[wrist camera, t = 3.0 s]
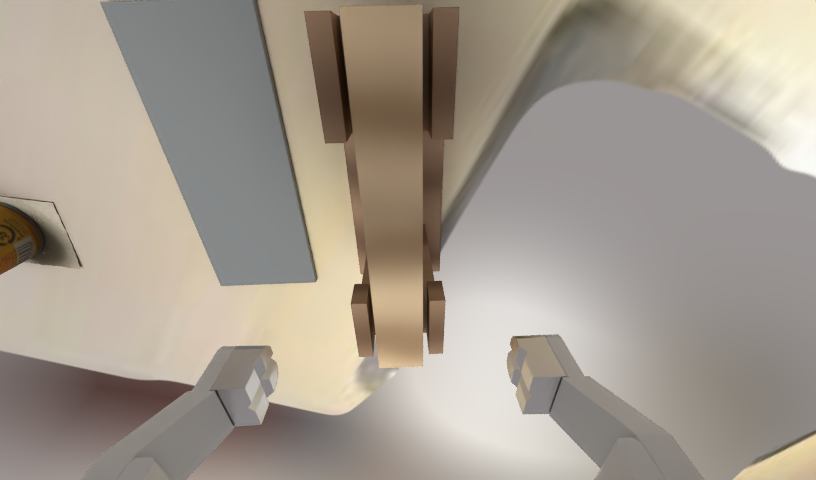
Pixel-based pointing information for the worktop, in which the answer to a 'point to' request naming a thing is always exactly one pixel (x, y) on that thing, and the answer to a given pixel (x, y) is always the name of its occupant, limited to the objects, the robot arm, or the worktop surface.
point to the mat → (219, 131)
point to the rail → (389, 167)
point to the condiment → (33, 235)
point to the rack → (436, 128)
